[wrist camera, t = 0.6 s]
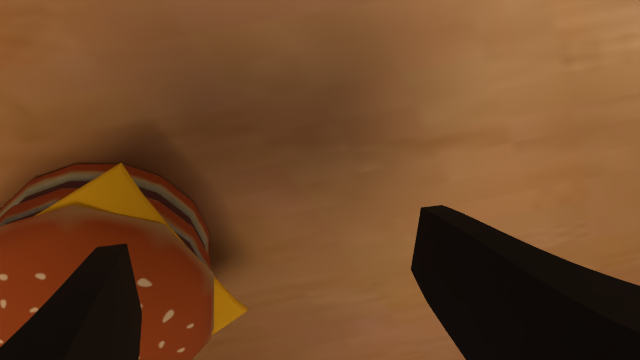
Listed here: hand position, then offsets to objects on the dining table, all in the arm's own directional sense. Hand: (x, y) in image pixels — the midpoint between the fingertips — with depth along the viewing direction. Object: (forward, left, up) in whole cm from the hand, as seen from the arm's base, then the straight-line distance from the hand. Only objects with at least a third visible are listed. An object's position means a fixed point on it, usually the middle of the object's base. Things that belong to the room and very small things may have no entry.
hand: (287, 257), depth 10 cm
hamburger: (-6, +6, -10) cm, 13 cm away
